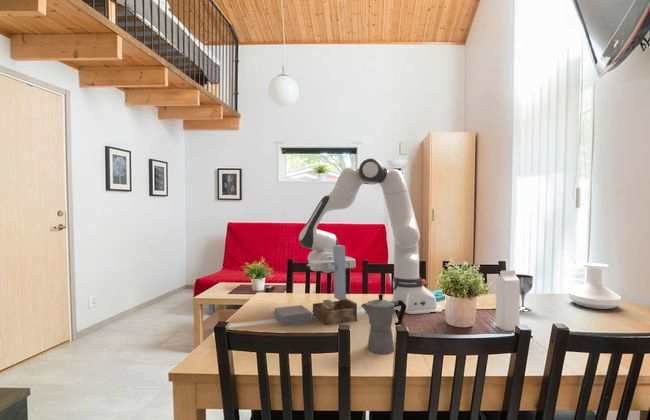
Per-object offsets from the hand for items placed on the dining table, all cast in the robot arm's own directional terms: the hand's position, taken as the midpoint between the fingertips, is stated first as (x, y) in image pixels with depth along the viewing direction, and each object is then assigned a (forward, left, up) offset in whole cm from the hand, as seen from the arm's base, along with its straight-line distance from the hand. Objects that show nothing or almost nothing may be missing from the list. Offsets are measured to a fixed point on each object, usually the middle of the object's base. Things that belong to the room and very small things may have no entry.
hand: (340, 267), depth 156 cm
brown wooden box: (+3, 0, -21) cm, 21 cm away
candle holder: (-118, -20, -22) cm, 122 cm away
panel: (0, -1, -13) cm, 13 cm away
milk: (-63, +12, -22) cm, 68 cm away
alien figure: (-55, -35, -22) cm, 69 cm away
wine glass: (-82, -14, -22) cm, 86 cm away
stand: (+20, +3, -21) cm, 29 cm away
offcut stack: (+5, +1, -21) cm, 22 cm away
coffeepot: (-13, +33, -22) cm, 42 cm away
